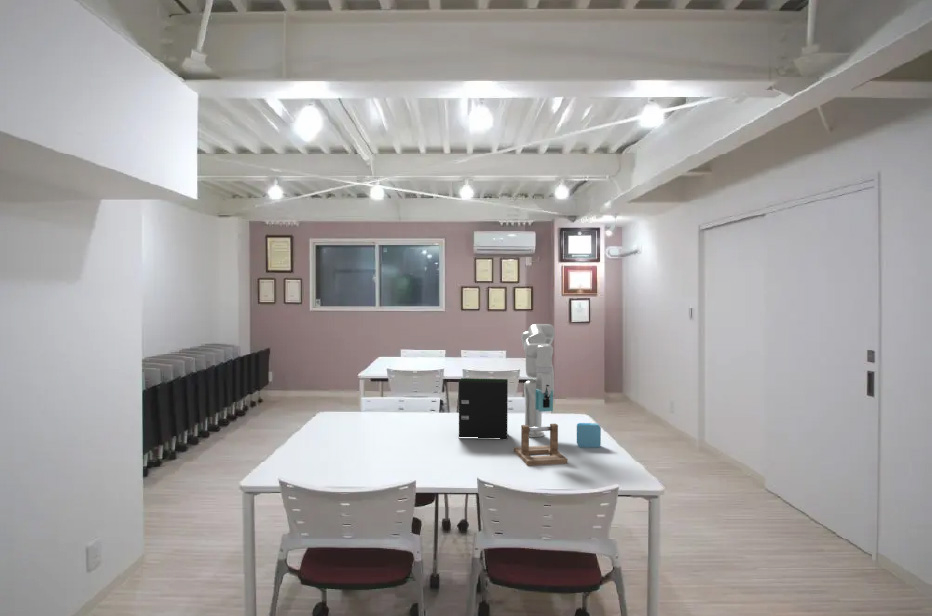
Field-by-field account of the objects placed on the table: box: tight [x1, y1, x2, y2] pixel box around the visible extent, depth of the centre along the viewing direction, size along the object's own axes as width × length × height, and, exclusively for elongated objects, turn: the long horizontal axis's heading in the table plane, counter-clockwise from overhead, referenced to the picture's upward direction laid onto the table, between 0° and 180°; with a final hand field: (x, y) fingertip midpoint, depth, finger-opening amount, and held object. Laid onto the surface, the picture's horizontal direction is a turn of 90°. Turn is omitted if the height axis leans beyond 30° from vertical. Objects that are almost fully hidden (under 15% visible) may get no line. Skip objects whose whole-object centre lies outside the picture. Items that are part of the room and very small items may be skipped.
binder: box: [458, 377, 509, 440], centre depth 307 cm, size 27×15×32 cm, turn 85°
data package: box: [576, 422, 602, 448], centre depth 287 cm, size 12×4×12 cm, turn 87°
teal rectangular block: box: [535, 389, 554, 413], centre depth 267 cm, size 6×7×10 cm
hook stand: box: [513, 423, 568, 466], centre depth 267 cm, size 24×20×16 cm
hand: (544, 405), depth 267 cm, fingers closed on teal rectangular block, 6 cm apart
